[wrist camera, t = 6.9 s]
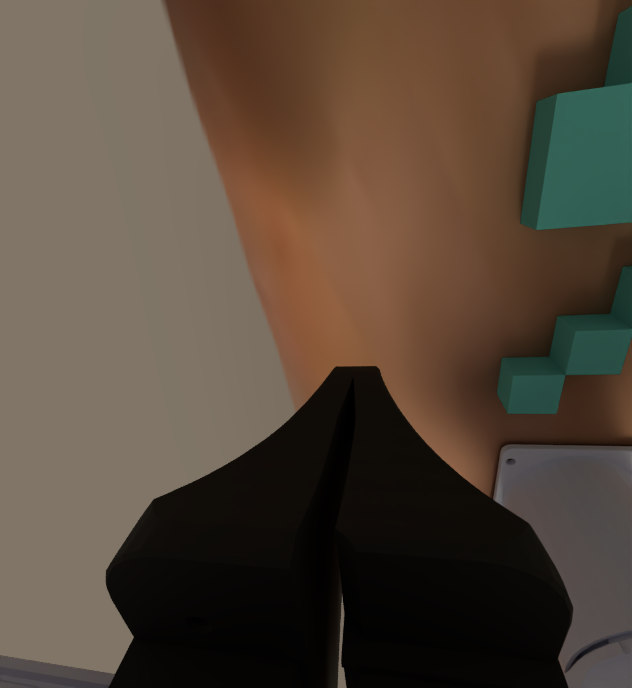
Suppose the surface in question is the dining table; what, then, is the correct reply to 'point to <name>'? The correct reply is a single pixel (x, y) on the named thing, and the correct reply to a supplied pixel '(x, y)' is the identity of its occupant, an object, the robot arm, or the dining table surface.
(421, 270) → the dining table surface
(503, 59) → the dining table surface
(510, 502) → the robot arm
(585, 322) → the alien figure
